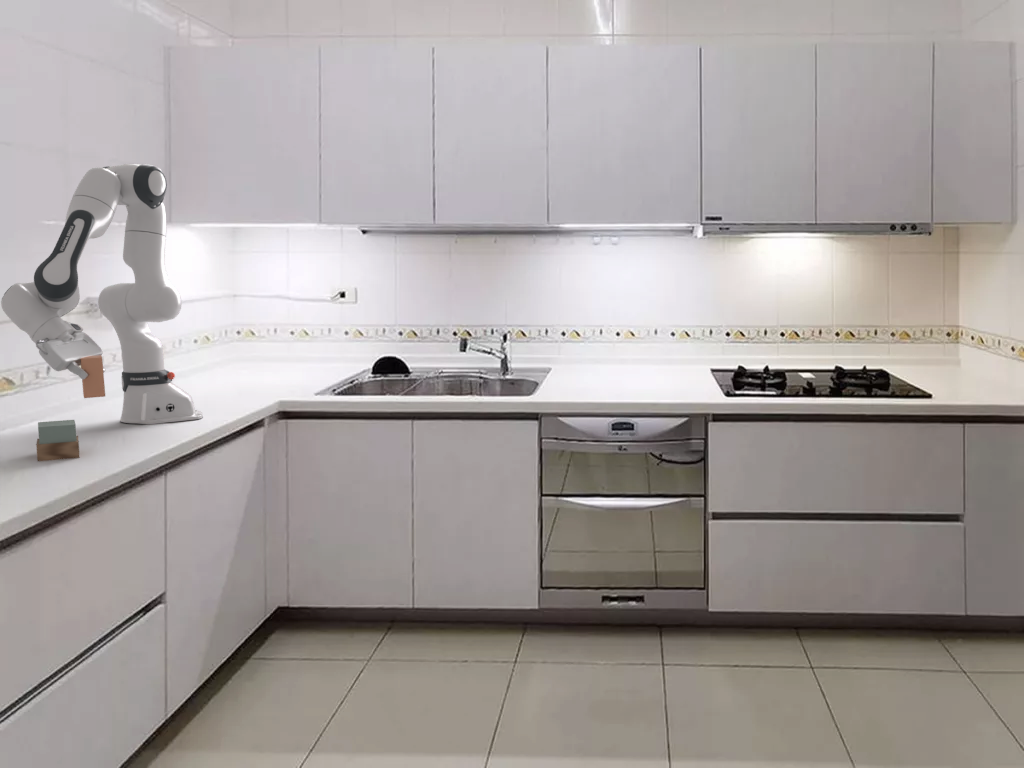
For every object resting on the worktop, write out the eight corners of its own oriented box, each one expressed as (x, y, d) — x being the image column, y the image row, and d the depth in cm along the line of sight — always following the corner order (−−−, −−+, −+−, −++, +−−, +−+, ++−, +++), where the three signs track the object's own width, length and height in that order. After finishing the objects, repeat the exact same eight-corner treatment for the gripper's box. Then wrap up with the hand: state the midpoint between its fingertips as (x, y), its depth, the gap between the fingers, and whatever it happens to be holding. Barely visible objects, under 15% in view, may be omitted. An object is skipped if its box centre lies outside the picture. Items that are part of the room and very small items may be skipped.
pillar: (104, 393, 271) (101, 355, 269) (105, 396, 266) (102, 357, 265) (83, 395, 269) (80, 356, 267) (84, 398, 264) (80, 358, 263)
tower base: (79, 451, 255) (78, 435, 254) (79, 458, 247) (78, 441, 246) (38, 455, 251) (37, 438, 251) (37, 461, 243) (36, 444, 243)
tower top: (75, 436, 254) (74, 419, 253) (76, 441, 247) (75, 424, 246) (39, 438, 251) (37, 422, 250) (39, 444, 243) (38, 427, 243)
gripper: (40, 332, 255) (81, 371, 256) (82, 324, 275) (121, 360, 276) (24, 350, 256) (66, 390, 257) (67, 341, 277) (106, 377, 277)
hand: (94, 374), depth 267 cm, fingers closed on pillar, 7 cm apart
